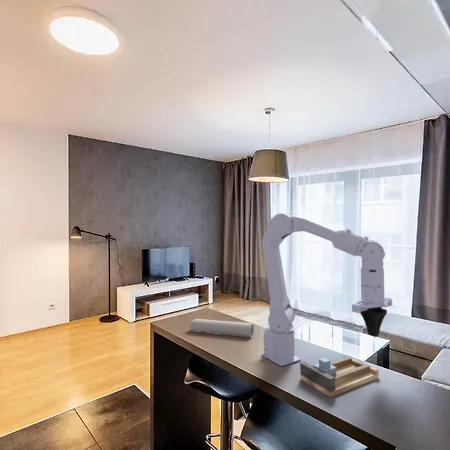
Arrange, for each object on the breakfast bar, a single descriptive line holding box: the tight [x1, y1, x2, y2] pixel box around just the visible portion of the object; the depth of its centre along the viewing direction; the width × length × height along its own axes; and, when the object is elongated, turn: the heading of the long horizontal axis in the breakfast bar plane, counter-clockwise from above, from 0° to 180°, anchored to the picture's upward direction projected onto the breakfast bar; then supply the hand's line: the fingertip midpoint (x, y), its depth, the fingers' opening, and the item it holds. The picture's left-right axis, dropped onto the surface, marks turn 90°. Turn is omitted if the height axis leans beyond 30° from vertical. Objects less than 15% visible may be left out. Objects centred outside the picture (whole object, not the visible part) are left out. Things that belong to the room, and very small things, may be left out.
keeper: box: [312, 357, 336, 376], centre depth 77 cm, size 4×4×5 cm
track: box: [299, 355, 379, 398], centre depth 80 cm, size 10×18×4 cm, turn 119°
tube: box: [189, 318, 255, 339], centre depth 115 cm, size 5×5×25 cm
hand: (373, 335), depth 82 cm, fingers closed
